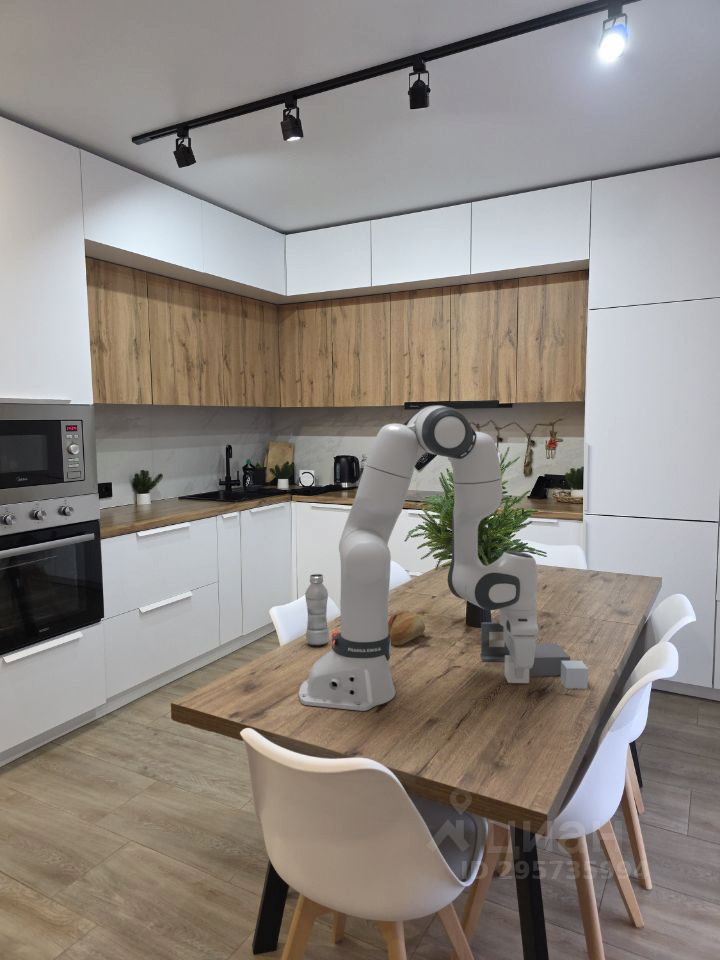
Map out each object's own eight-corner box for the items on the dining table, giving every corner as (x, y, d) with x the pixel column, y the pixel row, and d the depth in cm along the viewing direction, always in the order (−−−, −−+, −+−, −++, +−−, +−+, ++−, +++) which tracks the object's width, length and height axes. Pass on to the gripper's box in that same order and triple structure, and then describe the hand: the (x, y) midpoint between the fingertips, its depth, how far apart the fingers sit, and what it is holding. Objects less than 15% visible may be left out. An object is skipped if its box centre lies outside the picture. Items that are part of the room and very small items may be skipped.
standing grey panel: (482, 661, 172) (482, 625, 171) (480, 656, 176) (480, 620, 175) (512, 661, 172) (513, 625, 171) (510, 656, 176) (510, 620, 175)
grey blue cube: (566, 688, 155) (566, 668, 154) (560, 680, 160) (561, 660, 159) (587, 689, 155) (588, 668, 154) (581, 680, 160) (581, 660, 159)
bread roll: (378, 645, 186) (377, 617, 185) (402, 630, 199) (402, 604, 198) (408, 650, 181) (408, 622, 180) (431, 635, 194) (431, 608, 193)
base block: (530, 677, 162) (530, 657, 162) (518, 662, 172) (518, 644, 172) (569, 676, 163) (570, 656, 162) (555, 661, 173) (556, 643, 172)
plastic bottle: (334, 643, 187) (333, 575, 185) (316, 650, 182) (315, 579, 180) (318, 638, 191) (317, 571, 189) (301, 644, 186) (299, 575, 184)
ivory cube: (508, 682, 158) (508, 662, 157) (504, 674, 163) (504, 655, 162) (529, 683, 157) (529, 663, 157) (524, 675, 162) (525, 655, 162)
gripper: (497, 604, 169) (497, 656, 170) (512, 630, 149) (511, 689, 150) (522, 605, 169) (521, 657, 170) (540, 630, 148) (539, 689, 150)
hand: (516, 672), depth 160 cm, fingers closed on ivory cube, 5 cm apart
